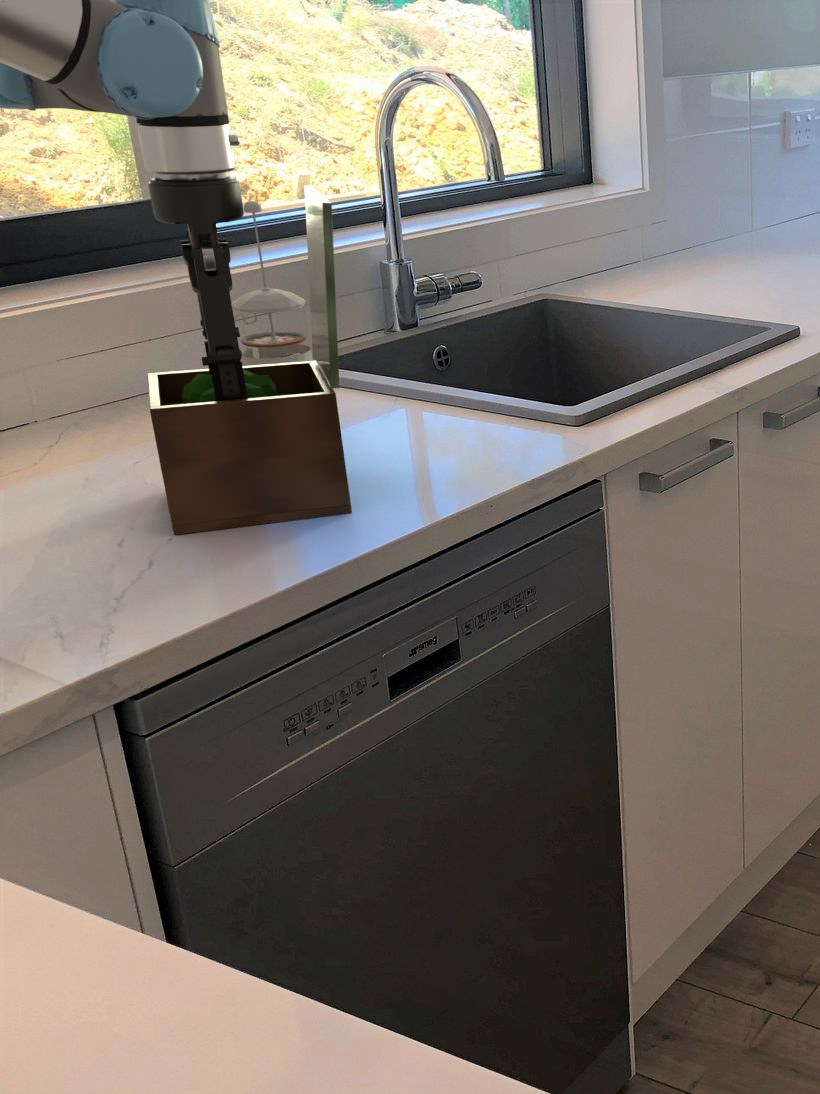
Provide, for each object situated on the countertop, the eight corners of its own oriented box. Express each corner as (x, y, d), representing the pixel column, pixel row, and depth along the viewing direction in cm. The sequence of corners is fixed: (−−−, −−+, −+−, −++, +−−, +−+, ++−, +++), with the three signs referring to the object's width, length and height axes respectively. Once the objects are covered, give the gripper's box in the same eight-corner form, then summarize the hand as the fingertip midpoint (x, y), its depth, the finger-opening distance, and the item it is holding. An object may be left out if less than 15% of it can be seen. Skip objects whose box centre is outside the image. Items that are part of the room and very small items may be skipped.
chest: (173, 535, 129) (149, 409, 124) (169, 489, 141) (147, 373, 136) (352, 513, 135) (335, 393, 130) (333, 472, 147) (317, 360, 142)
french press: (279, 434, 160) (241, 208, 149) (215, 420, 165) (174, 201, 155) (348, 416, 167) (316, 199, 157) (284, 402, 173) (250, 192, 163)
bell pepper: (213, 442, 140) (195, 344, 135) (296, 444, 140) (281, 346, 135) (179, 471, 132) (158, 368, 127) (266, 473, 132) (249, 371, 128)
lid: (322, 202, 124) (331, 203, 124) (304, 185, 136) (313, 185, 136) (330, 388, 130) (339, 388, 130) (312, 355, 142) (321, 356, 142)
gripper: (246, 186, 117) (286, 443, 127) (230, 162, 136) (265, 389, 145) (148, 189, 114) (196, 452, 124) (145, 164, 132) (186, 396, 142)
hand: (233, 418), depth 134 cm, fingers open, 9 cm apart
